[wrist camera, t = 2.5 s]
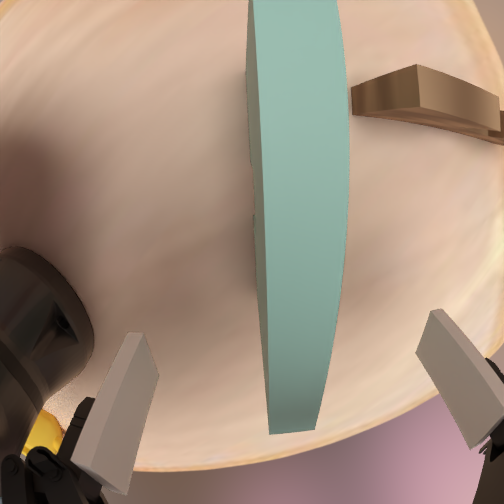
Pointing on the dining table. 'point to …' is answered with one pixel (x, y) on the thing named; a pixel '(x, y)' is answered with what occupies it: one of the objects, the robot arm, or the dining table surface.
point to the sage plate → (297, 196)
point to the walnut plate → (431, 102)
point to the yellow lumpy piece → (44, 433)
